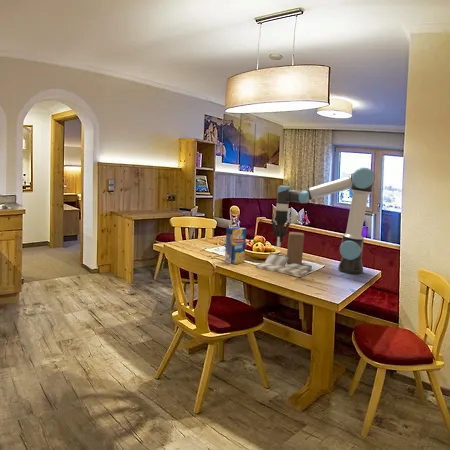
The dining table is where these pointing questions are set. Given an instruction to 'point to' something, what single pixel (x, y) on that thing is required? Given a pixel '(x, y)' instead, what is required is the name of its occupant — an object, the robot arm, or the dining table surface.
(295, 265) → the grey wavy slab
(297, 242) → the wooden block
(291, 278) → the dining table surface
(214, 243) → the dining table surface
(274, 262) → the grey ridged flat piece
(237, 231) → the blue food box
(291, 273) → the grey ridged flat tray
